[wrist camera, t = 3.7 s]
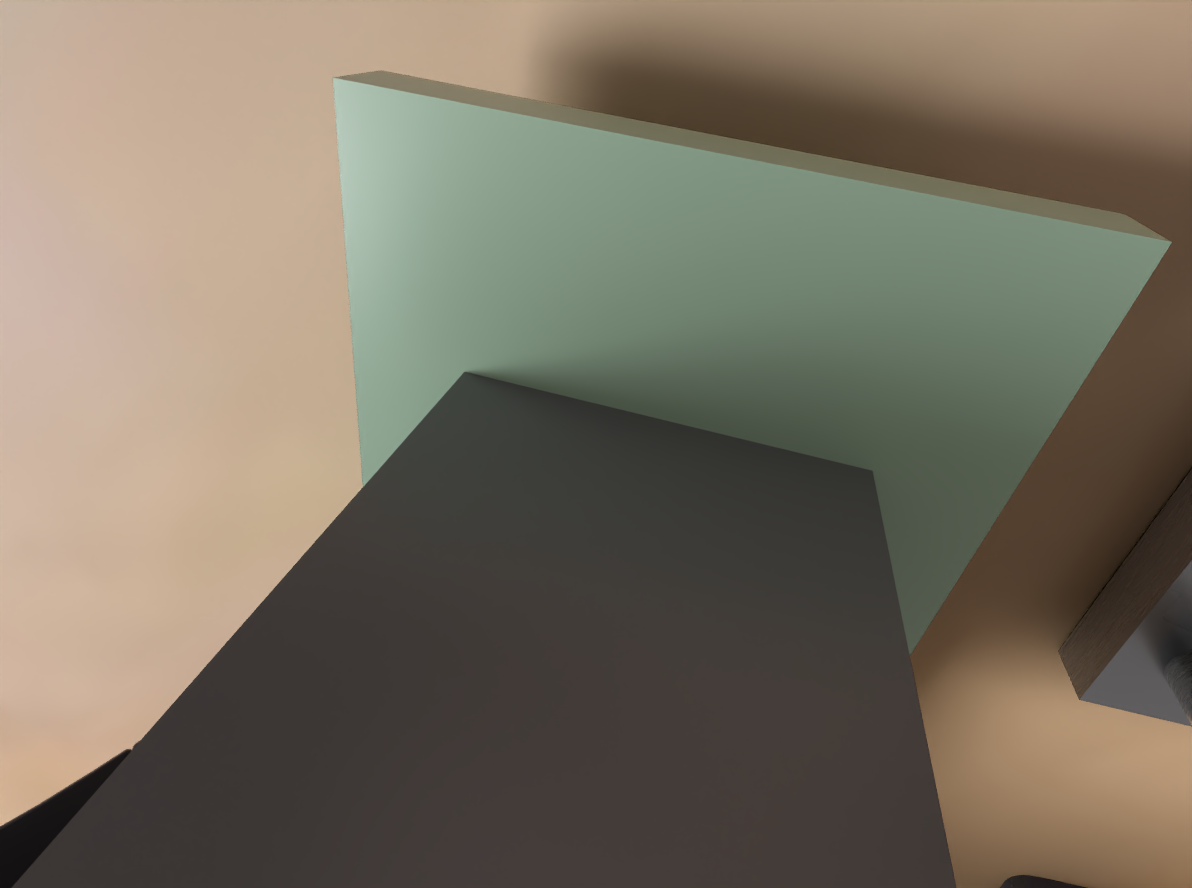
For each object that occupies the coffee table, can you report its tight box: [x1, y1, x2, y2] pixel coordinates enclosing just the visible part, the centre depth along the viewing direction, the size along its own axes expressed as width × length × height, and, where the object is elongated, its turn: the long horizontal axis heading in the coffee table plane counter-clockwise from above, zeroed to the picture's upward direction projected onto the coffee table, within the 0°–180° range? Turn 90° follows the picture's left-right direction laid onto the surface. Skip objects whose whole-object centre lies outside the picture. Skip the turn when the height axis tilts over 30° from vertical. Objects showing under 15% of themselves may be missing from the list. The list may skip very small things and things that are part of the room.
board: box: [12, 71, 1172, 888], centre depth 8 cm, size 12×8×7 cm, turn 172°
